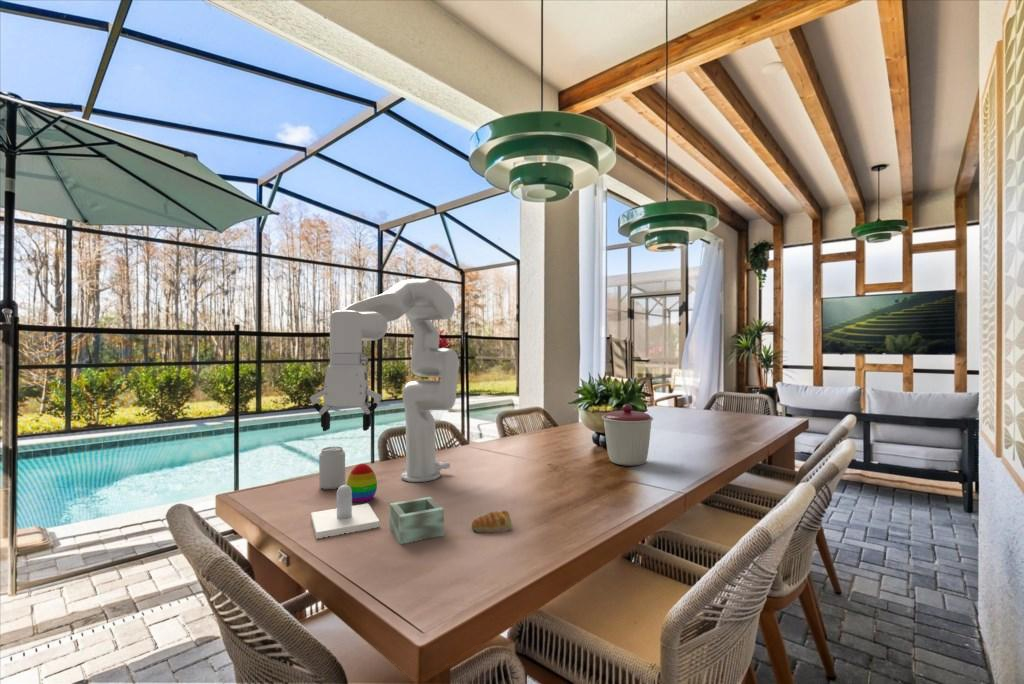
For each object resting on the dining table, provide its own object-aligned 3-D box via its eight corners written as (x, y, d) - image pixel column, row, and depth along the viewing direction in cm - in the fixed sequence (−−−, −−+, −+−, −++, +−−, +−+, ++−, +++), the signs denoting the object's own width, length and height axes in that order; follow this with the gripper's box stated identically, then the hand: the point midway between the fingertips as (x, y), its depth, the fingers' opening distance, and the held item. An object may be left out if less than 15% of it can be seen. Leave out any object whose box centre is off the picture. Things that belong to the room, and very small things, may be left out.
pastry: (475, 537, 107) (475, 520, 107) (468, 526, 114) (468, 510, 114) (514, 531, 111) (514, 515, 111) (505, 521, 117) (505, 505, 117)
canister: (623, 471, 159) (622, 409, 159) (592, 459, 175) (591, 402, 175) (664, 465, 166) (664, 405, 166) (631, 454, 183) (631, 400, 183)
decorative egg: (373, 503, 130) (372, 467, 130) (343, 504, 129) (342, 468, 129) (379, 494, 138) (379, 459, 138) (351, 494, 137) (351, 460, 137)
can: (313, 489, 143) (313, 449, 143) (331, 482, 150) (331, 444, 150) (333, 492, 140) (332, 451, 140) (350, 484, 147) (350, 446, 147)
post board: (368, 508, 125) (367, 474, 125) (379, 527, 113) (379, 488, 113) (311, 518, 119) (310, 481, 119) (316, 539, 107) (316, 498, 106)
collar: (430, 520, 117) (430, 496, 117) (443, 535, 108) (443, 509, 108) (389, 528, 112) (389, 503, 112) (400, 544, 103) (400, 517, 103)
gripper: (385, 360, 120) (385, 427, 120) (316, 360, 120) (316, 427, 119) (377, 360, 113) (378, 432, 113) (304, 361, 112) (304, 433, 112)
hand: (346, 430), depth 116 cm, fingers open, 9 cm apart
